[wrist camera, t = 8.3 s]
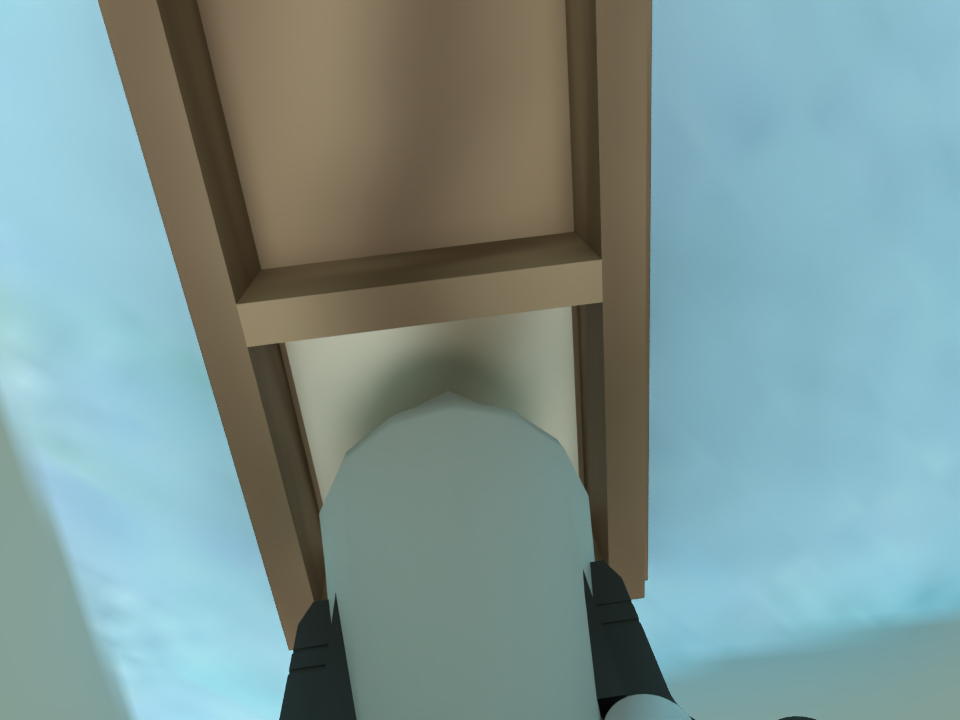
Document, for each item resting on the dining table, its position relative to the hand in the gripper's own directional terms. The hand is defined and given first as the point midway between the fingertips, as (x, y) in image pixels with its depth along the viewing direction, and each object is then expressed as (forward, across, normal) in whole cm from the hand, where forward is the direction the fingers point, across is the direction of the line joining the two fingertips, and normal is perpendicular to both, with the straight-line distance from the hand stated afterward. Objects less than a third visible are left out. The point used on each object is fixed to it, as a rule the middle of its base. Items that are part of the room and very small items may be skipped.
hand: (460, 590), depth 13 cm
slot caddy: (+8, 0, -4) cm, 9 cm away
